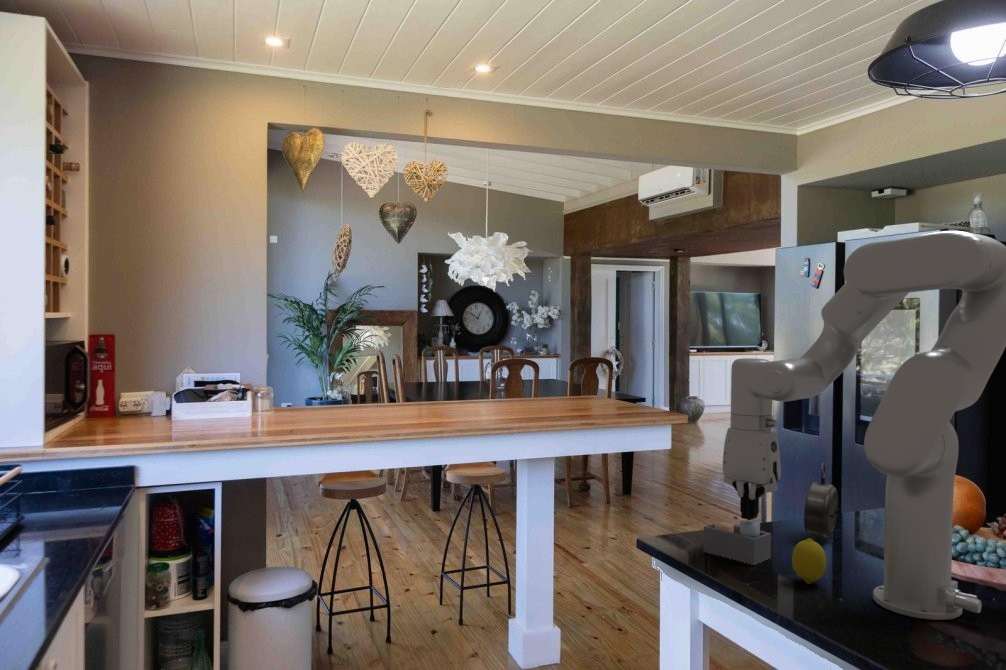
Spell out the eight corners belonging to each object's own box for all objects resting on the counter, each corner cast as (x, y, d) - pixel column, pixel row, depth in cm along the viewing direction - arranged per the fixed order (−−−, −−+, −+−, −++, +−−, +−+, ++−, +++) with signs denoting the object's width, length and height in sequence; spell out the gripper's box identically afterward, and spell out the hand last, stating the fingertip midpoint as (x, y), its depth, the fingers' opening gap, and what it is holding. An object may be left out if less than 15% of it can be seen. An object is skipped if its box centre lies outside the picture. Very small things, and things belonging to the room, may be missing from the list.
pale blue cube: (763, 543, 141) (763, 523, 141) (753, 547, 138) (753, 526, 138) (746, 539, 144) (746, 519, 143) (736, 543, 141) (736, 522, 141)
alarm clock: (814, 532, 159) (815, 457, 158) (841, 536, 156) (842, 460, 155) (801, 545, 150) (803, 466, 149) (830, 550, 147) (831, 469, 146)
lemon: (829, 590, 125) (829, 544, 125) (794, 588, 126) (795, 542, 126) (821, 579, 130) (822, 534, 130) (788, 577, 131) (789, 532, 131)
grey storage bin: (770, 559, 141) (771, 533, 141) (754, 566, 137) (754, 539, 137) (720, 545, 149) (720, 521, 149) (703, 551, 145) (703, 526, 145)
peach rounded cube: (737, 544, 145) (737, 524, 145) (727, 548, 143) (727, 528, 143) (721, 540, 148) (721, 520, 148) (710, 544, 145) (711, 524, 145)
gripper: (798, 425, 137) (796, 523, 138) (727, 416, 149) (725, 506, 149) (777, 429, 132) (775, 530, 133) (706, 420, 144) (704, 513, 144)
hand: (749, 517), depth 141 cm, fingers closed
